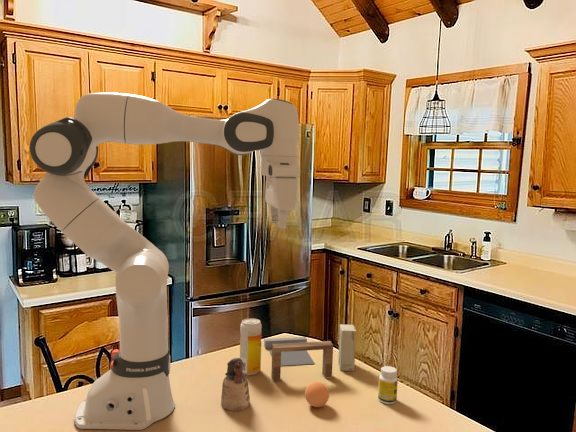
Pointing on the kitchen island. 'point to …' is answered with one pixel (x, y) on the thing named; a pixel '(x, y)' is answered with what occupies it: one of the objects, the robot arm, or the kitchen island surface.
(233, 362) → the figurine
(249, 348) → the beer can
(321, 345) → the bridge
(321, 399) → the ball
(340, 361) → the skincare box
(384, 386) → the supplement bottle
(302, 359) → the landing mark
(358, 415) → the kitchen island surface
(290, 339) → the stopper
